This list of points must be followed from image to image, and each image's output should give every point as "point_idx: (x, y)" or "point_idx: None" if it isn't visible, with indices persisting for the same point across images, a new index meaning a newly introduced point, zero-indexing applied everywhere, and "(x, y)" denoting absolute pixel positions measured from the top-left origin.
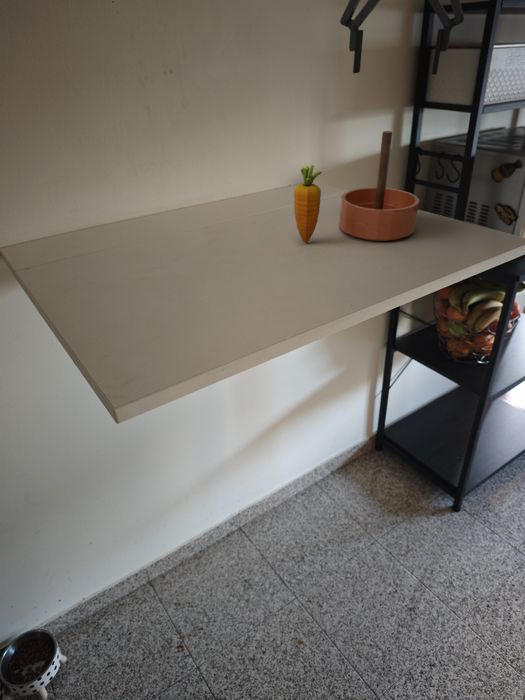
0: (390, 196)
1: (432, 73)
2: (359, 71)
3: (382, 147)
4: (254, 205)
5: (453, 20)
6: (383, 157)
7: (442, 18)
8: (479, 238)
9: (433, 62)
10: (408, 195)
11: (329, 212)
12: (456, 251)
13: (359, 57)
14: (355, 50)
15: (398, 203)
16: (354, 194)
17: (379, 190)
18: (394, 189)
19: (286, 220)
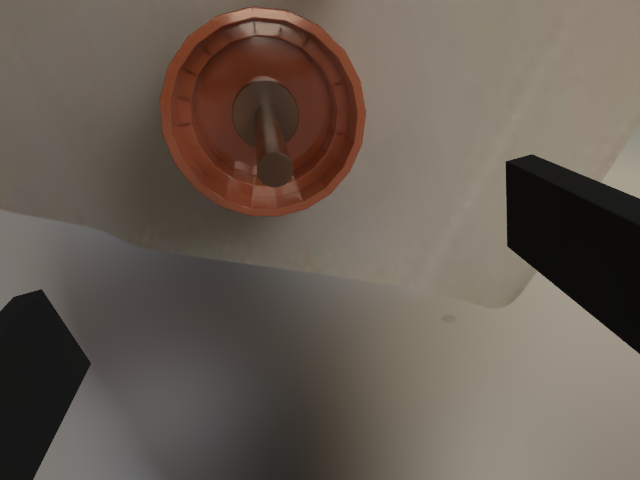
0: (273, 202)
1: (33, 294)
2: (508, 234)
3: (277, 140)
4: (573, 106)
5: None
6: (268, 134)
7: None
8: (50, 179)
9: (3, 332)
10: (221, 195)
11: (401, 156)
12: (46, 72)
13: (562, 231)
14: (633, 198)
15: (250, 197)
16: (347, 148)
17: (266, 115)
18: (267, 212)
19: (470, 50)
